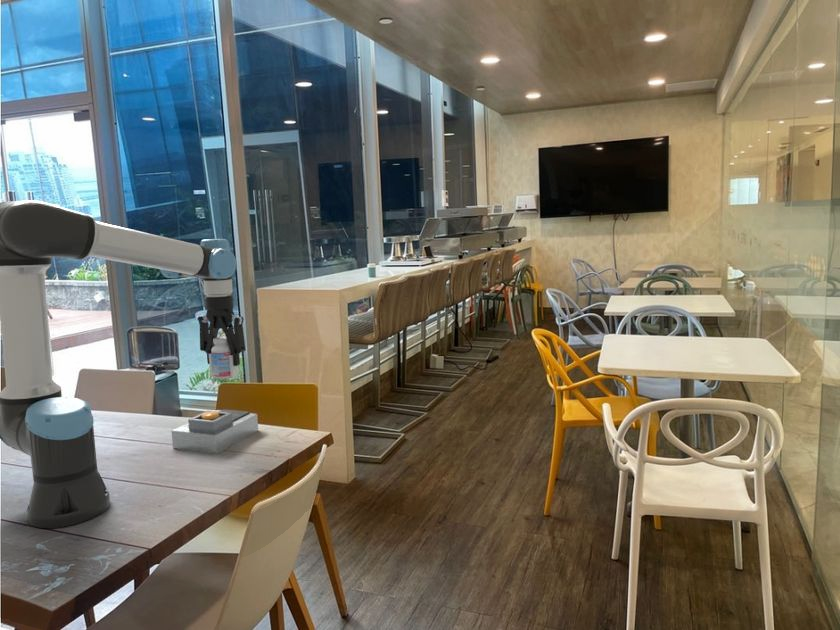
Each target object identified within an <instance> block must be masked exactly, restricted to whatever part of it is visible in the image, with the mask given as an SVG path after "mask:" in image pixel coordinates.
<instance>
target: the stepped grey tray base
mask: <svg viewBox="0 0 840 630" xmlns="http://www.w3.org/2000/svg"><path fill="white" fill-rule="evenodd" d="M208 412H218V413H219V418H217V419H215V420H213V421H212V420H202V414H204V413H208ZM187 421H188V422H186V423H185V424H182V425H180V426H178V427H176V428H174V429H172V430H171V440H172V449H174V448H177V449H176V450H182V449H184V450H185V451H190V450H191V452H199V453H206V454H215V455H218V454H219V453H220V452H222V451H225V450H226V449H228V448H229V447H232V446H233V445H235V444H237V443H239V442H240V441H242V440H244V439H246V438H247V437H249V436H251V435H253V434H254V433H256V432H258V431H259V423H258V413H253V412H251V411H247V410H237V409H235V410H234V409H216V410H206V411H204V412H202V413H200V414H198V415H194V416H193V417H191V418H188V420H187Z"/></svg>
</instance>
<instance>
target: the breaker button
mask: <svg viewBox="0 0 840 630" xmlns="http://www.w3.org/2000/svg"><path fill="white" fill-rule="evenodd" d="M203 413H204V412H203ZM201 414H202V413H201ZM217 418H219V413H218V412H208V413H204V414H202V420H212V421H213V420H215V419H217Z"/></svg>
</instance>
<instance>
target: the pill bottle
mask: <svg viewBox="0 0 840 630" xmlns="http://www.w3.org/2000/svg"><path fill="white" fill-rule="evenodd" d="M213 343H214V344H215V346H213V347H212V349H211V355H212V371H213V377H212V378H214V379H216V380H227V379H232V378H231V376H230V362H229V355H230V354H232V353H231V351H230V348H229V345H228V342H227V339H226V336H217V337H216V338H214V339H213Z"/></svg>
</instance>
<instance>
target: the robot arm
mask: <svg viewBox="0 0 840 630" xmlns="http://www.w3.org/2000/svg"><path fill="white" fill-rule="evenodd" d="M89 257H90V258H95V259H102V260H106V261H107V260H108V261H112V262H118V263H125V264H129V265H134V266H140V267H147V268H152V269H158V270H159V271H160V273H161V274H162V276H163V277H164V278H167V279H178V278H197V279H198V278H199V279H203V280H202V281H203V293H204V295H205V297H204V304H205V305H204V306H205V307H204V308H205V309H206V313H205V315H204V314H203V315H199V316H198V317H197V321H198V325H199V350H200V351H201V352H204V353H205V354H206V358H207V364H208V365H209V376H210V377H212V378H213V371H212V355H211V349H212V347H213V346H215V344H214V343H213V339H214V338H216V337H219V336H218V335H219V331H220V329H221V330H222V332H223V333H224V337H226V339H227V342H228V345H229V348H230V351H231V353H232V354H230V355H229V362H230V376H231V378H230V379H234V378H237V377H239V375H240V373H239V366H240V364H241V359H240V358H241V357H240V356H241V355H240V354H241V353H244V352H246V350H247V349H246V341H245V334H244V325H243V324H244V319H245V318H244V316H237V315H235V312H234V308H235V307H234V306H235V303H234V296H233V294H232V293H234V292H233V291H234V290H233V280H232V279H233V278H232V276H234V273H235V272H236V269H237V258H236V256H235V255H234V254H233V252H232V250H231V248H230V243H229V241H228V239H225V238H207V239H202V240H200V244H197V243H193V242H187V241H184V240H179V239H176V238H170V237H166V236H162V235H157V234H152V233H148V232H145V231H140V230H136V229H131V228H126V227H124V226H123V227H121V226H118V225H113V224H108V223H105V222H100V221H96V219H95V218H94V217H93V216H92V215H91V214H87V213H83V212H79V211H76V210H73V209H69V208H66V207H61V206H58V205H56V204H51V203H49V202H46V201H41V200H35V199H32V200H31V199H27V200H26V199H25V200H13V201H12V200H11V201H9V200H8V201H2V202H0V331H1V343H2V354H3V363H4V364H3V366H4V376H5V378H4V379H5V387H4V388H3V389H2V390H1V391H0V441H1V442H3V444H5V445H6V446H8V447H10V448H11V449H13V450H17V451H20V452H22V453H23V454H25V455H27V456H30V463H31V464H30V465H31V471H32V479H33V485H32V490H31V494H30V499H29V504H28V505H27V508H26V515H27V516H26V517H27V523H28V524H29V525H30V526H32V527H35V528H40V529H57V528H65V527H69V526H73V525H77V524H80V523H83V522H87V521H89V520H92V519H93V518H96V517H97V516H99V515H102V513H104V512H105V511H107V510H108V508H109V507H110V504H111V498H110V497H111V495H110V491H109V489H108V488H107V487H106V483H105V482H104V480H103V477H102V476H101V474H100V472H99V470H98V469H99V468H98V464H97V463H98V461H97V450H96V441H95V440H96V439H95V429H94V416H93V413H92V409H91V405H89V403H88V402H87V401H85V400H84V399H81V398H77V397H66V396H63V394H62V386H60V385H59V384H57V383H56V382H54V379H53V372H52V371H53V370H52V359H51V347H50V336H49V335H50V334H49V333H50V332H49V322H48V321H49V319H48V310H47V309H48V308H47V295H46V294H47V293H46V283H45V273H46V271H48V269H50V267H51V266H52V258H62V259H63V258H64V259H65V258H66V259H74V260H79V261H83V260H85V259H87V258H89Z"/></svg>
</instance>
